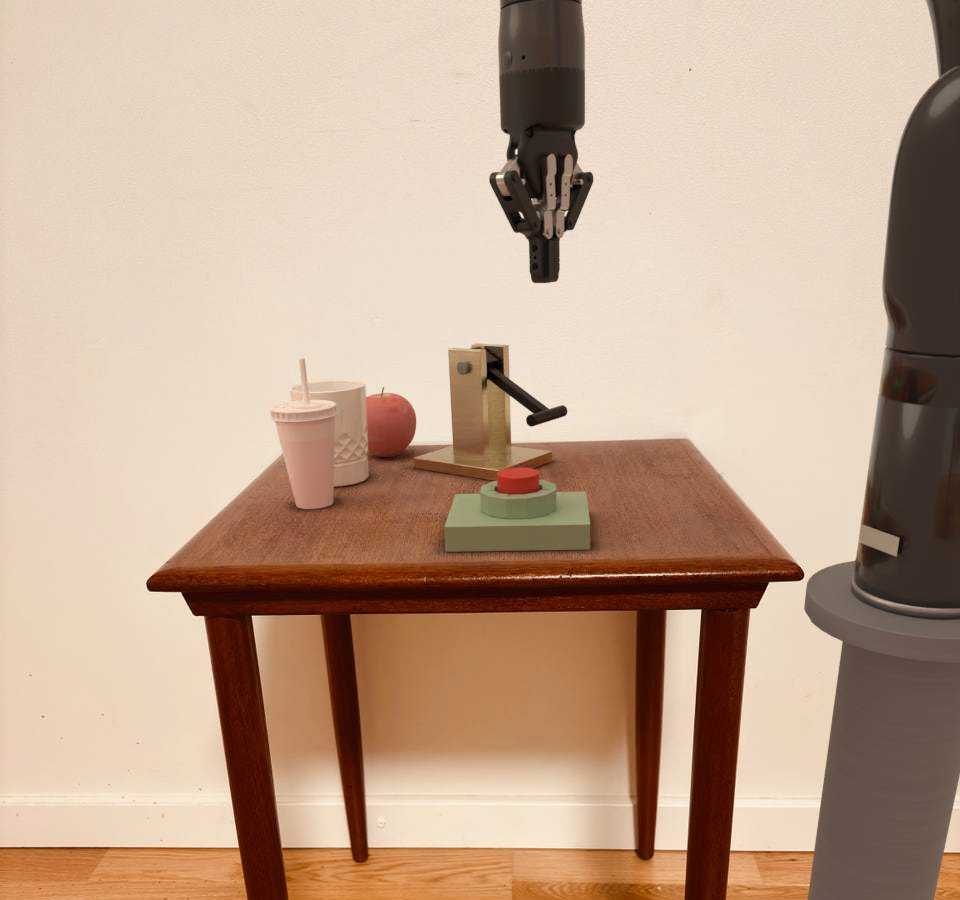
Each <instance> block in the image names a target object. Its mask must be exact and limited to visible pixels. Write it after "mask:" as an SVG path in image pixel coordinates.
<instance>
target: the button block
mask: <svg viewBox="0 0 960 900" xmlns="http://www.w3.org/2000/svg"><path fill="white" fill-rule="evenodd" d="M587 495H588V494H587V491H557V484H555V483H553V482H551V481H548V480H546V479H545V480H544V479H539V491H538V492H535V493H529V494H518V495H509V494H502V493H498V491H497V481H493V480H492V481H491V482H487V483H485V484H484V485H481V486H480V489H479V493H455V495H454V498H453V500H452V503H451V506H450V508H449V512H448V515H447V518H446V521H445V524H444V527H443V530H444V549H445V552H446V553H455V552H457V553H458V552H459V553H460V552H461V553H462V552H522V551H523V552H525V551H527V552H528V551H529V552H530V551H532V552H533V551H534V552H535V551H589V550H591V517H590V511H589V502H588V496H587Z"/></svg>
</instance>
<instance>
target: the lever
mask: <svg viewBox="0 0 960 900" xmlns="http://www.w3.org/2000/svg"><path fill="white" fill-rule="evenodd" d="M469 349H483V348H481V347H475V348H471V347H470V348H469ZM483 350H484V349H483ZM497 362H498V360H497V359H496V358H495V357H493V356H492V355H491V354H489V353H488V352H487V351H486V365H487V380H490V381H491V382H493V383H494V384H495V385H497V386H498V387H499V388H500V389H502V390H503V391H504V392H506V393H507V394H508V395H510V398H512V399H514V400H515V401H516V402H517V403H519V404H520V405H521V406H522V407H524V408H526V409H527V410H528V411H530V412H531V414H528V415H527V416H526V418H525V422H526V424H527V426H529V427H531V428H532V427H535V426H539V425H542V424H545V423H548V422H551V421H554V420H558V419H560V418H561V419H562V418H564V417H566V416H567V414H568V408H567V407H566V406H565V405H564V404H561V405H558V406H557V405H556V406H554V407H550V408H549V407H547V406H546V405H545V404H543V402H541V401H539V400H538V399H537V398H535V397H534V396H533V395H532V394H530V393H529V392H527V391H526V390H525V389H524V388H522V387H521V386H519V384H517V383H515V382H514V381H513V380H511V379H510V377H509V378H507V377H506V376H505V375H503V374H502V373H501V372H499V371H498V370H497V369H495V367H496V364H497Z"/></svg>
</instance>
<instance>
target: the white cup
mask: <svg viewBox="0 0 960 900" xmlns="http://www.w3.org/2000/svg"><path fill="white" fill-rule="evenodd" d="M307 383H308V391H309V400H328V401H333V402H335V403H336V406H337V412H338V414H337V415H336V416H335V434H334V488H335V487H337V488H338V487H346V486H351V485H357V484H359V483H362V482H365V481H366V480H367V479H368V478H369V477H370V476H369V475H370V474H369V473H370V472H369V457H368V453H369V452H368V424H367V403H366V397H367V385H366V383H365V382H364V381H362V380H355V379H328V380H327V379H326V380H317V381H310V382H308V381H307ZM289 394H290V399H291V401H300V400H304V399H303V391H302V383H299V384H295V385H293V386H291V387H289Z"/></svg>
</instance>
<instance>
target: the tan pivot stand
mask: <svg viewBox="0 0 960 900" xmlns="http://www.w3.org/2000/svg"><path fill="white" fill-rule="evenodd" d="M470 346H471V347H470V348H475V347H481V348H483V349H484V350H483V349H470V348H463V347H451V348H448V349H447V356H448V357H447V358H448V373H449V377H448V378H449V393H450V394H449V395H450V413H451V415H450V416H451V432H452V445H450V446H446V447H444V448H440V449H437V450H434V451H431V452H430V451H429V452H427V453H425V454H420V455H418V456H414V457H413V458H412V459H413V467H414V469H418V470H423V471H430V472H437V473H441V474H442V473H443V474H449V475H456V476H461V477H468V478H473V479H479V480H480V479H481V480H487V481H492V482H493V481H497V473H498V472H499V471H501V470H504V469H509V468H531V469H536V468H539V467H542V466H544V465H547V464H549V463H552V462H553V456H552V455H553V451H552V450H544V449H537V448H529V447H523V446H521V447H520V446H513V445H512V423H511V421H512V420H511V396H510V395H508V394H507V393H506V392H504V391H503V390H502V389H500V388H499V387H498V386H497V385H495V384H494V383H493V382H491V381H490V380H487V365H486V351H487V352H488V353H489V354H491V355H492V356H493V357H495V358H496V359H497V360H498V362H497V364H496V367H495V369H497V370H498V371H499V372H501V373H502V374H503V375H505V376H506V377H507V378H509V379H510V348H509V347H510V345H509V344H499V343H497V344H495V343H479V342H477V343H472V344H471V345H470Z"/></svg>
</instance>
